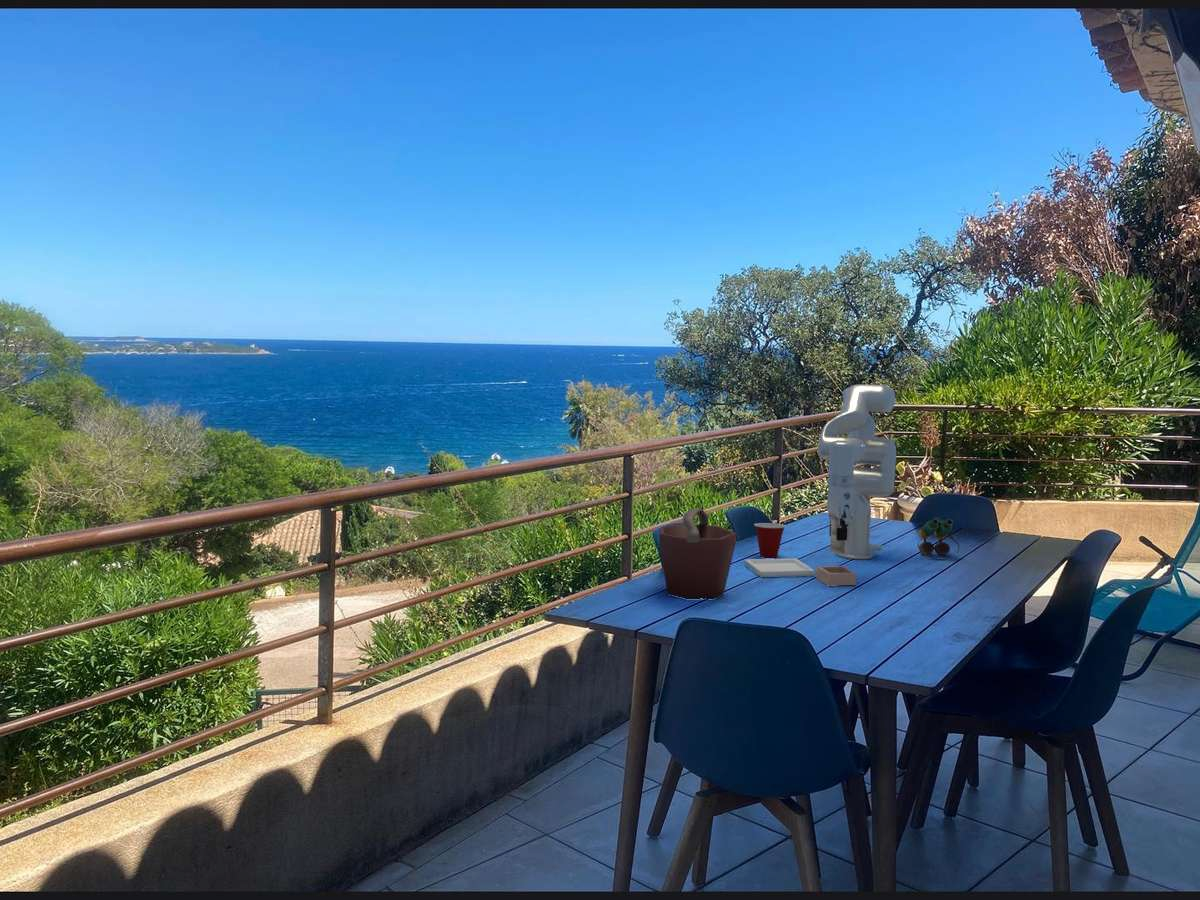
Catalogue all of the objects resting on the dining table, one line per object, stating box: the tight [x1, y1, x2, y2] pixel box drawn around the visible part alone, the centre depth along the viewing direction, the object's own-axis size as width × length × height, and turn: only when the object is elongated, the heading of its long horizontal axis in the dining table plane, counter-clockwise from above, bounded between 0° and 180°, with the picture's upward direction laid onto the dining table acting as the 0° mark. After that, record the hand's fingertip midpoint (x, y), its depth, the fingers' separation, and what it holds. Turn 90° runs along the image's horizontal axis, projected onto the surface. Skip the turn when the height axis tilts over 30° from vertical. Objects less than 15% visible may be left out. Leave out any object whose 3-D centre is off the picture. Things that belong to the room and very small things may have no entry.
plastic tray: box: [744, 557, 816, 578], centre depth 269 cm, size 18×16×2 cm
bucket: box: [659, 508, 737, 599], centre depth 241 cm, size 24×22×25 cm
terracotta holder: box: [815, 565, 857, 586], centre depth 256 cm, size 9×9×4 cm
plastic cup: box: [754, 522, 786, 559], centre depth 287 cm, size 11×11×12 cm
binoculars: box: [917, 517, 960, 561], centre depth 290 cm, size 14×14×15 cm
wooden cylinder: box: [829, 514, 845, 554], centre depth 255 cm, size 4×4×12 cm
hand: (838, 537), depth 255 cm, fingers closed on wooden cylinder, 4 cm apart
